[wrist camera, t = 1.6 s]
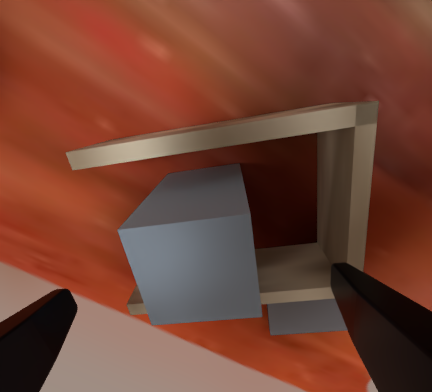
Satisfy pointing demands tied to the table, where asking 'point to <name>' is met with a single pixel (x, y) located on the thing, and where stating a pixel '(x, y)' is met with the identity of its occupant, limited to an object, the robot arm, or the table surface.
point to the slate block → (194, 248)
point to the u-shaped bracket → (326, 187)
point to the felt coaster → (305, 317)
